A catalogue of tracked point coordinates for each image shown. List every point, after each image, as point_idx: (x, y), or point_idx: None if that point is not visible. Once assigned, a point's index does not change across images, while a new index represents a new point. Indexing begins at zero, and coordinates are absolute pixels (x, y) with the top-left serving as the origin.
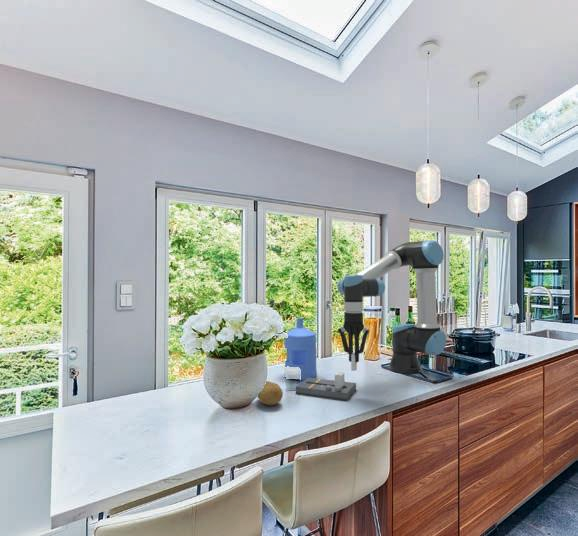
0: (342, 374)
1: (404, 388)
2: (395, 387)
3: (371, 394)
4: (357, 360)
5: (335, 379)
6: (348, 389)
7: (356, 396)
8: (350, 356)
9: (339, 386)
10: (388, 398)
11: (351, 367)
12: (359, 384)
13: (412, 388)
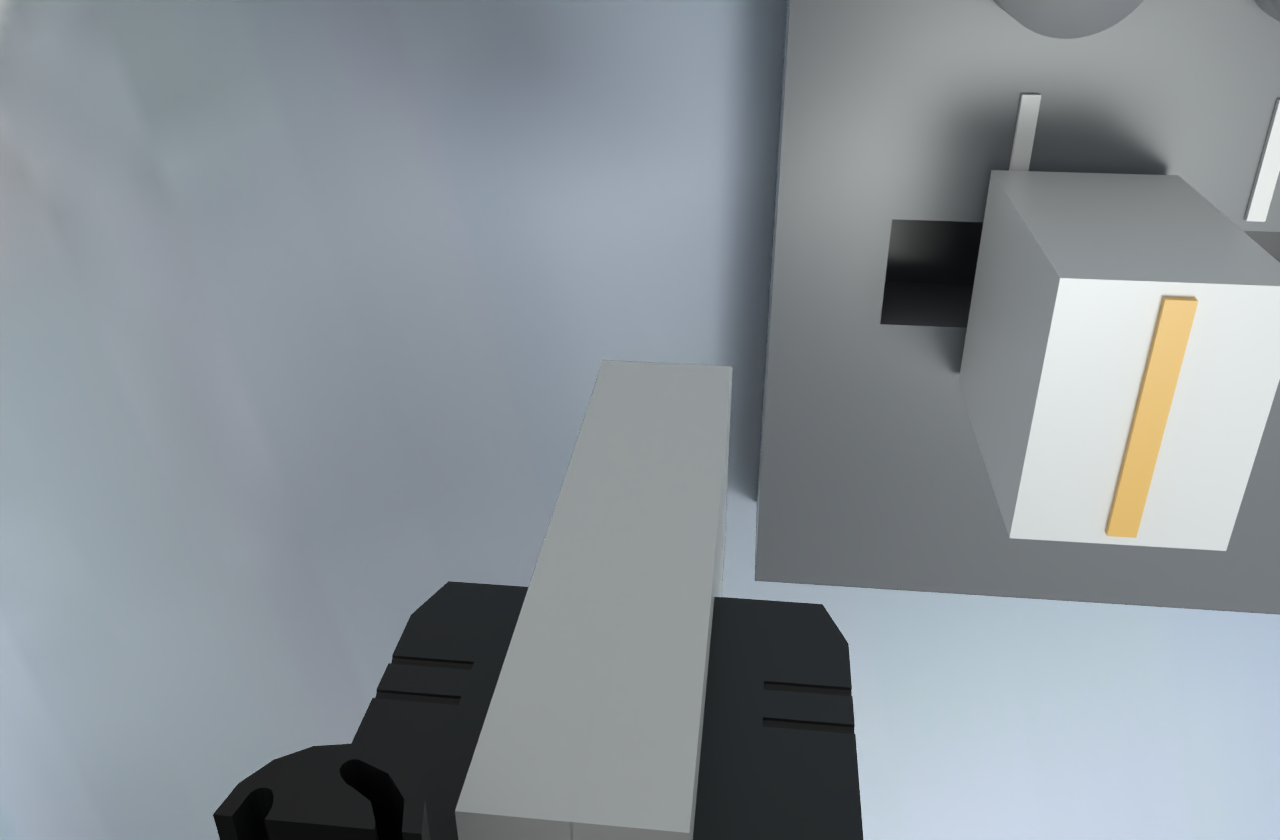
0: (1043, 380)
1: (107, 748)
2: (228, 756)
3: (447, 380)
4: (430, 635)
5: (1221, 236)
6: (818, 146)
7: (669, 190)
8: (765, 784)
9: (1044, 27)
10: (129, 283)
11: (723, 422)
12: None
13: (19, 770)
